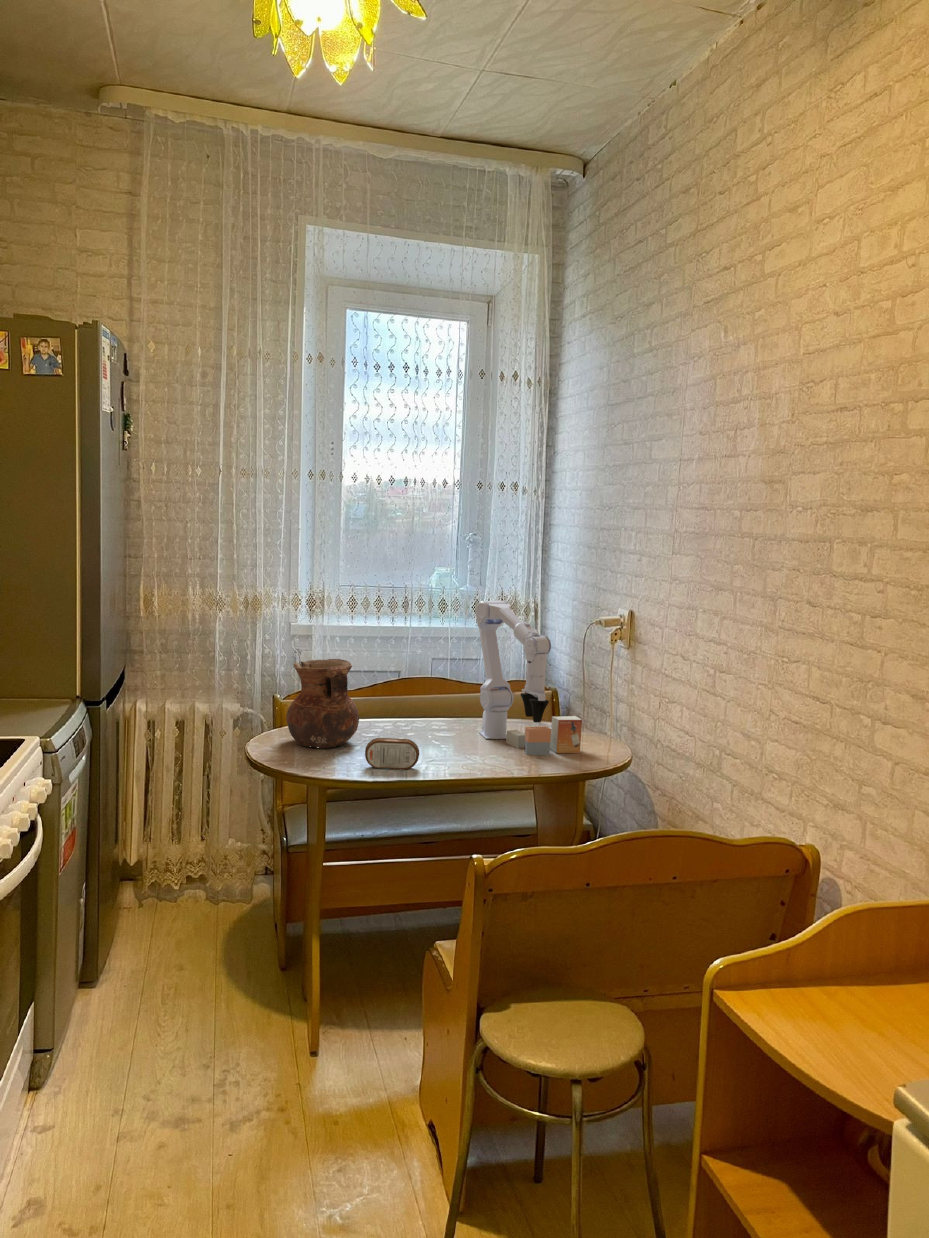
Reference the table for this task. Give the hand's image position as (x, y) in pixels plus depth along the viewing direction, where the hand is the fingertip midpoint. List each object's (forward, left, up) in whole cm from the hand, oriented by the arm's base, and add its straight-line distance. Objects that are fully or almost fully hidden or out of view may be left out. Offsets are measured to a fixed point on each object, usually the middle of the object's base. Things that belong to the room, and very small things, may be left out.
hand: (533, 719), depth 280 cm
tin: (+16, -46, -10) cm, 50 cm away
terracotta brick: (+4, +1, -6) cm, 7 cm away
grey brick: (-7, -2, -10) cm, 13 cm away
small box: (+2, +10, -10) cm, 14 cm away
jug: (-13, -62, -10) cm, 65 cm away
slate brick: (+4, +1, -10) cm, 11 cm away
